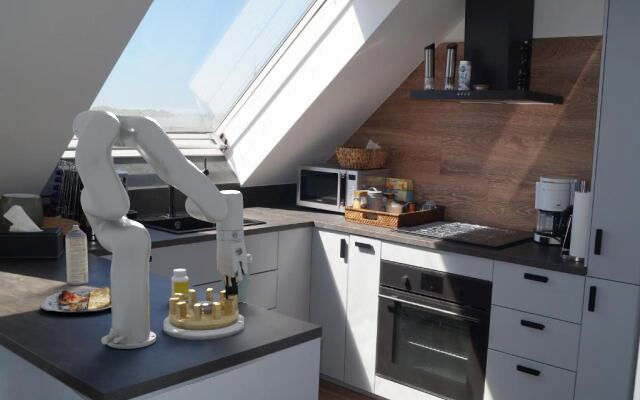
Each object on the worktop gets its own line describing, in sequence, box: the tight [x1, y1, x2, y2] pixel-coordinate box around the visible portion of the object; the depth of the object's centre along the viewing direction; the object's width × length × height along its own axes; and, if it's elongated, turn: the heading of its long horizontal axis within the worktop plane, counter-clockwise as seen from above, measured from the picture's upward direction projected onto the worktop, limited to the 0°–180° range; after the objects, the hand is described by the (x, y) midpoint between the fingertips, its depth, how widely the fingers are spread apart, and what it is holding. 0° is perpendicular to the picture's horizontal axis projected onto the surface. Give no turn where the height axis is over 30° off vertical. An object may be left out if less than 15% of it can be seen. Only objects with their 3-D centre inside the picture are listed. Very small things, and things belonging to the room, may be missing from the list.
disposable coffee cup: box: [220, 253, 254, 304], centre depth 225 cm, size 11×11×15 cm
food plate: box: [40, 286, 111, 314], centre depth 219 cm, size 25×23×4 cm
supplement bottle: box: [170, 268, 190, 302], centre depth 225 cm, size 5×5×10 cm
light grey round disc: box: [163, 313, 245, 341], centre depth 198 cm, size 22×22×2 cm
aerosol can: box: [65, 224, 89, 286], centre depth 245 cm, size 7×7×20 cm
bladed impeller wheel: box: [168, 287, 240, 330], centre depth 198 cm, size 19×19×6 cm
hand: (231, 298), depth 202 cm, fingers closed
